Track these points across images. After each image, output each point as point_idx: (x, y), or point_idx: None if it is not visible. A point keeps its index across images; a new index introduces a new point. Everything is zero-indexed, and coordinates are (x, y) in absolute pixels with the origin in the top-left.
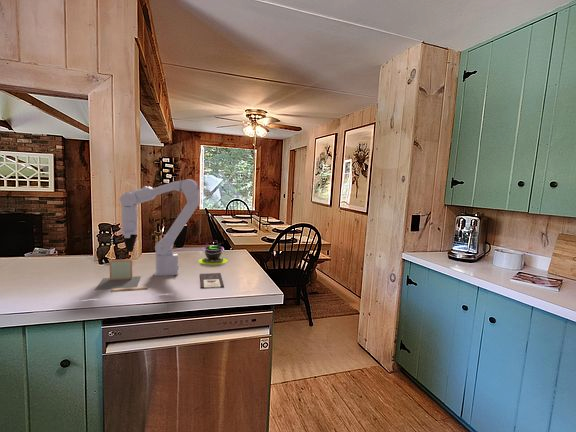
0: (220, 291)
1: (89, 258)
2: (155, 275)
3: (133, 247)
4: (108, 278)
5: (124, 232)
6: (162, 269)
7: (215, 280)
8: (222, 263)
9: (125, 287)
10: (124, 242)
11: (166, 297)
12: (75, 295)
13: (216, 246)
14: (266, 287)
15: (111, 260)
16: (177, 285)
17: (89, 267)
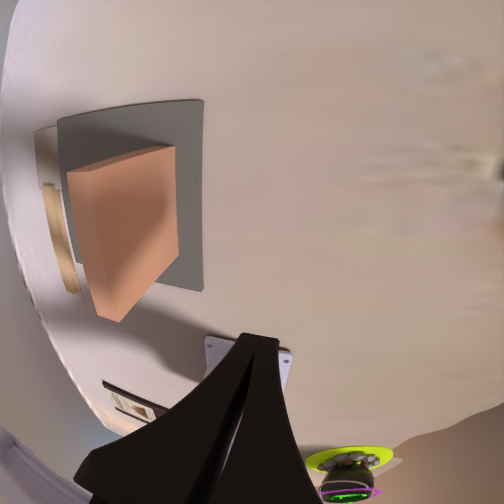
0: (96, 393)
1: None
2: (204, 341)
3: (242, 410)
4: (188, 131)
5: (3, 495)
6: (202, 379)
7: (148, 418)
8: (308, 466)
9: (72, 226)
10: (159, 416)
11: (48, 311)
12: (45, 76)
13: (359, 498)
14: (126, 434)
15: (73, 185)
16: (115, 357)
17: (493, 36)
